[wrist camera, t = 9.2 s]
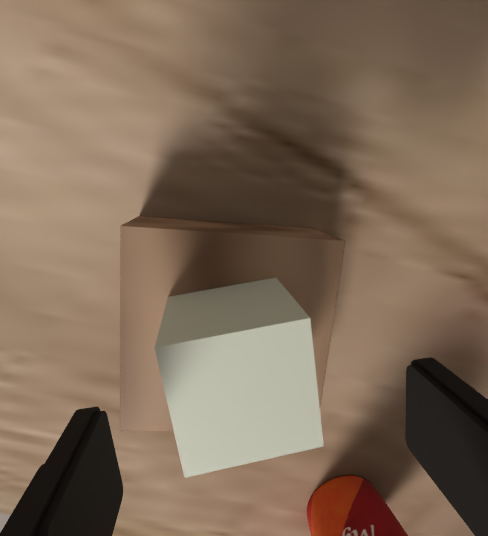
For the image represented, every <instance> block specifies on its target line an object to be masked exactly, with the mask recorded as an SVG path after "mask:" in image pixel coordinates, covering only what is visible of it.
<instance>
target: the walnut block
mask: <svg viewBox="0 0 488 536" xmlns="http://www.w3.org/2000/svg"><path fill="white" fill-rule="evenodd" d="M344 246H345V241H344V240H342V239H339V238H337V237H334V236H331V235H329V234H326V233H323V232H321V231H318V230H316V229H313V228H300V227H285V226H271V225H257V224H243V223H229V222H215V221H201V220H186V219H172V218H158V217H144V216H139V217H137V218H135V219H133V220H131V221H129V222H127V223H125V224H123V225H122V226H121V264H120V431H173V425H172V421H171V417H170V413H169V408H168V404H167V400H166V395H165V391H164V387H163V382H162V378H161V374H160V370H159V365H158V361H157V357H156V352H155V348H154V347H155V344H156V340H157V336H158V332H159V328H160V325H161V321H162V317H163V313H164V310H165V306H166V302H167V298H168V297H170V296H175V295H181V294H187V293H192V292H198V291H203V290H209V289H215V288H220V287H226V286H231V285H237V284H242V283H248V282H254V281H259V280H265V279H270V278H277V279H278V280H279V281H280V283H281V284H282V285H283V286H284V287H285V288H286V290H287V291H288V292H289V293H290V294H291V296H292V297H293V298H294V299H295V300H296V302H297V303H298V304H299V305H300V306H301V308H302V309H303V310H304V311H305V312H306V313H307V315H308V316H309V317H310V320H311V330H312V339H313V349H314V359H315V368H316V378H317V388H318V397H319V407H320V406H321V400H322V393H323V386H324V380H325V373H326V366H327V360H328V353H329V346H330V340H331V333H332V326H333V320H334V313H335V306H336V300H337V293H338V286H339V280H340V273H341V266H342V260H343V253H344Z"/></svg>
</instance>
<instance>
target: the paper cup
mask: <svg viewBox="0 0 488 536" xmlns="http://www.w3.org/2000/svg"><path fill="white" fill-rule="evenodd" d="M307 517H308V523H309V527H310V531H311V536H408V535H407V534H406V532H405V531H404V529H403V528H402V526H401V525H400V523H399V522H398V520H397V519H396V517H395V516H394V514H393V513H392V511H391V510H390V508H389V507H388V505H387V504H386V503H385V501H384V500H383V498H382V497H381V495H380V494H379V493H378V491H377V490H376V489H375V487H374V486H373V485H372V484H371V483H370V482H369V481H368V480H366V479H364V478H362V477H359V476H354V475H344V476H339V477H336V478H333V479H331V480H329V481H327V482H325V483H324V484H322V485H321V486H320V487H319V488H318V489H317V490H316V491H315V492H314V493H313V495H312V496H311V498H310V500H309V503H308V506H307Z"/></svg>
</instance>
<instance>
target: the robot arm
mask: <svg viewBox="0 0 488 536" xmlns="http://www.w3.org/2000/svg"><path fill="white" fill-rule="evenodd" d="M405 437H406V443H407V446H408V448H409V450H410V451H411V452H412V454H413V455H414V456H415V458H416V459H417V460H418V462H419V463H420V464H421V465H422V467H423V468H424V469H425V471H426V472H427V473H428V475H429V476H430V477H431V479H432V480H433V481H434V483H435V484H436V485H437V486H438V488H439V489H440V490H441V492H442V493H443V494H444V496H445V497H446V498H447V500H448V501H449V502H450V503H451V505H452V506H453V507H454V509H455V510H456V511H457V513H458V514H459V515H460V517H461V518H462V519H463V520H464V522H465V523H466V524H467V526H468V527H469V528H470V530H471V531H472V532H473V534H474V535H475V536H488V399H486V398H485V397H484V396H482V395H481V394H480V393H478V392H477V391H476V390H474V389H473V388H472V387H471V386H469V385H468V384H467V383H465V382H464V381H463V380H461V379H460V378H459V377H457V376H456V375H455V374H453V373H452V372H451V371H450V370H448V369H447V368H446V367H444V366H443V365H442V364H440V363H439V362H438V361H436V360H435V359H434V358H423V359H417V360H413V361H412V362H411V365H409V366H408V367H407V370H406V432H405ZM122 496H123V484H122V479H121V475H120V470H119V466H118V462H117V457H116V453H115V448H114V444H113V439H112V435H111V431H110V426H109V422H108V417H107V414H106V412H105V411H100V409H99V407H91V408H85V409H78V410H76V412H75V413H74V415H73V416H72V418H71V420H70V422H69V423H68V425H67V427H66V428H65V430H64V432H63V433H62V435H61V437H60V439H59V440H58V442H57V444H56V445H55V447H54V449H53V451H52V452H51V454H50V456H49V457H48V459H47V461H46V462H45V464H43V465H42V466H41V467H40V468H39V469H38V471H37V472H36V474H35V476H34V477H33V479H32V481H31V483H30V484H29V486H28V488H27V489H26V491H25V493H24V494H23V496H22V498H21V499H20V501H19V503H18V504H17V506H16V508H15V509H14V511H13V513H12V514H11V516H10V518H9V519H8V521H7V523H6V524H5V526H4V528H3V530H2V531H1V533H0V536H112V534H113V530H114V527H115V523H116V519H117V516H118V512H119V508H120V505H121V501H122Z"/></svg>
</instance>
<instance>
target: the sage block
mask: <svg viewBox="0 0 488 536" xmlns="http://www.w3.org/2000/svg"><path fill="white" fill-rule="evenodd" d="M154 348H155V352H156V357H157V361H158V365H159V370H160V374H161V378H162V382H163V387H164V391H165V395H166V400H167V404H168V408H169V413H170V417H171V421H172V425H173V430H174V434H175V438H176V443H177V447H178V451H179V455H180V460H181V464H182V468H183V473H184V477H185V478H186V477H190V476H194V475H199V474H203V473H208V472H212V471H217V470H221V469H225V468H230V467H234V466H239V465H243V464H247V463H252V462H256V461H261V460H265V459H269V458H274V457H278V456H283V455H287V454H291V453H296V452H300V451H305V450H309V449H314V448H318V447H322V446H324V445H323V436H322V426H321V416H320V407H319V397H318V388H317V378H316V368H315V359H314V349H313V339H312V330H311V320H310V317H309V316H308V315H307V313H306V312H305V311H304V310H303V309H302V308H301V306H300V305H299V304H298V303H297V302H296V300H295V299H294V298H293V297H292V296H291V294H290V293H289V292H288V291H287V290H286V288H285V287H284V286H283V285H282V284H281V283H280V281H279V280H278V279H277V278H270V279H265V280H259V281H254V282H248V283H242V284H237V285H231V286H226V287H220V288H215V289H209V290H203V291H198V292H192V293H187V294H181V295H175V296H170V297H168V298H167V302H166V306H165V310H164V313H163V317H162V321H161V325H160V328H159V332H158V336H157V340H156V344H155V347H154Z"/></svg>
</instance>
